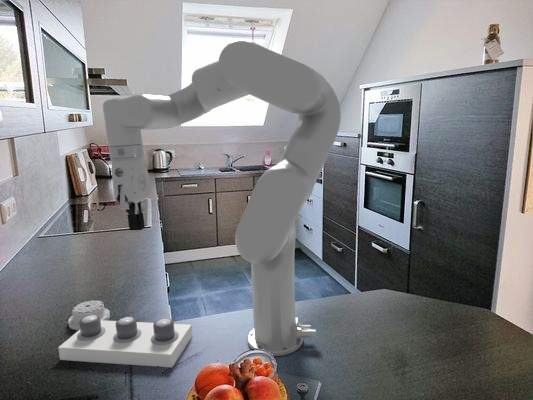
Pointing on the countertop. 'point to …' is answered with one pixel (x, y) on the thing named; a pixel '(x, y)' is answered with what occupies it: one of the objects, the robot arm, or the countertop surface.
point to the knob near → (164, 329)
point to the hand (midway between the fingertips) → (137, 229)
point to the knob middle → (126, 328)
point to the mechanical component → (88, 312)
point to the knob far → (90, 326)
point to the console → (127, 346)
